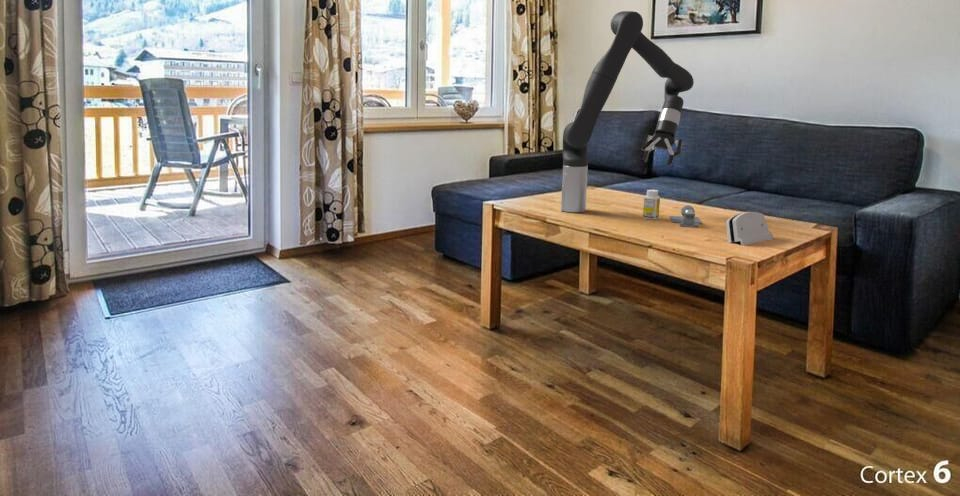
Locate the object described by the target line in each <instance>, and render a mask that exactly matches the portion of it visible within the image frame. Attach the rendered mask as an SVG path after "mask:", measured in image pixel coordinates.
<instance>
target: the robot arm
mask: <svg viewBox="0 0 960 496" xmlns="http://www.w3.org/2000/svg"><path fill="white" fill-rule="evenodd" d="M643 27H644V18H643V17H642V15H641V14H640V13H639V12H637V11H632V10H630V11H629V10H625V11H624V10H623V11H619V12H617V13H615V14H614V15H613V16H612V18H611V21H610V30H611V31H612V34H614V35H615V36H614V38H613V40H612V43H611V45H610V47H609V49H608V50H607V51H606V52H605V54H603V56H602V57H601V58H600V59H599V61H597V63H596V65H595V66H594V67H593V69H592V72H591V73H590V76H589V79H588V80H587V83H586V85H585V89H584V93H583V97H582V102H581V105H580V108H579V109H578V112H577V114H576V116H575V118H574V120H573V121H572V122H571V121H570V123H567V125H566V126H565V127H564V129H563V132H562V133H563V134H562V183H561V184H562V185H561V201H560V205H561V207H560V211H561V212H566V213H583V212H586V210H587V209H586V208H587V194H588V193H587V190H588V189H587V188H588V172H589V171H588V169H589V168H588V167H589V157H588V143H589V142H590V141H591V138H592V136H593V132H594V129H595V126H596V123H597V120H598V119H599V116H600V113H601V112H602V110H603V108H604V106H605V104H606V103H607V101H608V99H609V97H610V94H611V93H612V91H613V89H614V87H615V84H616V81H617V79H618V77H619V75H620V73H621V71H622V68H623V67H624V65H625V62H626V60H627V57H628V55H629V54H630V52H631V50H633V51H635V52H636V53H637V54H638V55H639V56H640V57H641V58H642V59H643V60H644V61H645V62H646V63H647V64H648V66H650V68H651V69H653V71H654V72H655V73H656V74H657V75H658V76H659V77H660V78H662V79H663V78H664V79H666V80H665V82H664V94H663V95H664V101H663V104H662V108H661V111H660V113H659V116H658V120H657V124H656V128H655V129H654V130H655V131H654V133H653V135H649V133H645V135H644V137H643V140H642V142H641V145H640V149H641V151H643V152H644V153H643V157H642V160H643V161H644V163H647V162H648V159H649V155H650V153H651V151H653V150H655V149H656V150H657V149H658V150H662V151H665V150H667V151H668V154H669V156H668V161H667V167H670V166H672V165H673V162H674V158H676V157H678V158H680V156H681V151H682V147H683V139H681V138H680V139H676V138H675V137H676V135H677V131H678V127H679V125H680V121H681V120H680V119H681V113H682V110H683V106H684V99H683V98H682V97H681V96H679V93H684V92H688V91H690V90H691V89H692V88H693V87H694V78H693V75H692V74H691V73H690V72H689V71H688V70H687V69H686V68H684V67H682V65H679V64H677V63H676V62H674V61H673V59H672V58H671V57H670V56H669V55H668V54H667V53H666V52H665V51H664V50H663V49H662V48H661V47H660V46H659V45H657V44H656V43H654V42H653V41H652V40H650V39H649V38H648V37H647V36H646V35H645V34H644V33H642V30H643ZM651 140H652V142H651ZM648 142H651V143H650V144H648ZM674 144H675V146H677V147H676V151H675V152H674V150H673V148H672V146H673V145H674ZM647 145H648V146H647Z"/></svg>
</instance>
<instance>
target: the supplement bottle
mask: <svg viewBox="0 0 960 496" xmlns="http://www.w3.org/2000/svg"><path fill="white" fill-rule="evenodd" d="M660 202H661V197H660V195H659V190H658V189H647V190H646V195H644V196H643V208H642V209H643V210H642V211H643V212H642V217H643V219H645V220H653V221H654V220H655V221H656V220H658V219H659V215H660V204H661V203H660Z"/></svg>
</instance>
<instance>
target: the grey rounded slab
mask: <svg viewBox="0 0 960 496" xmlns="http://www.w3.org/2000/svg"><path fill="white" fill-rule="evenodd" d="M725 223H726V233H727V242H728V243H729V244H730V243H738V242H740V246H748V245H751V244H758V243H762V242H765V241H770V240H774V236H773V232H771V231H770V230H769V228H768V227H769V226H768V224H767V221H766V218H765V215H764V213H761V212H758V211H744V212H740V213H737V214H735V215H733V216H731V217H730V218H728V219H727V220H726V221H725Z"/></svg>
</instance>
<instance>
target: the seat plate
mask: <svg viewBox="0 0 960 496" xmlns="http://www.w3.org/2000/svg"><path fill="white" fill-rule="evenodd" d="M669 219H670V221H671V223H673V224H679V222H684V217H683V216H682V215H669ZM694 223H698V225H703V223H702V221H701V219H700V218H699V217H698V216H695V220H694Z"/></svg>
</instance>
